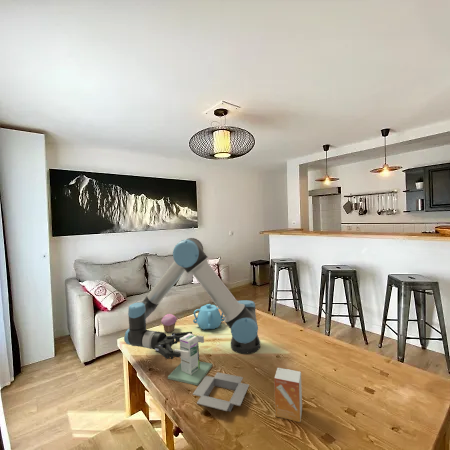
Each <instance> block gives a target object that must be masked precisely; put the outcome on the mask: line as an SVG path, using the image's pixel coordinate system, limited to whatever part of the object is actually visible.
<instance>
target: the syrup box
mask: <svg viewBox="0 0 450 450" xmlns="http://www.w3.org/2000/svg"><path fill="white" fill-rule="evenodd" d="M179 350H184V351H189V359H185V358H180V363H181V369H182V371H183V372H185V373H187V374H189V375H192V374H193V373H194V372H195V371H197V370H198V369H200V362H199V361H200V353H199V352H200V347H199V342H198V336H197V334H194V333H192V334H190V333H189V334H187V335H185V336H183V337H182V338H180V342H179Z"/></svg>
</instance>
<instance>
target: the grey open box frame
mask: <svg viewBox="0 0 450 450" xmlns="http://www.w3.org/2000/svg"><path fill="white" fill-rule="evenodd" d="M243 379H244V377H243V376H240V375H234V374H227V373H224V372H223V373H222V372H216V373H215V375H214V376H209V375H205V377H204V378H203V379H202V381H201V382H200V383H199V385H198V386H197V387H196V389H195V390H194V392H193V393H192V395H193V396H197V397H199V398H198V400H197V402H196V405H201V406H204V407H208V408H213V409H216V410H221V411H224V412H230V413H231V411H232V410H233V408H234V406H238V407H241V406H242V403H243V401H244V398H245V397H246V393H247V392H248V389H249V386H250V384H248V383H243V382H242V381H243ZM214 387H219V388H223V389H227V390H233V393H232V396H231V397H230V399H229V401H228V400H223V399H220V398H215V397H212V396H210V394H211V392H212V391H213V390H214Z"/></svg>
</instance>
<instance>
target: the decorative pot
mask: <svg viewBox="0 0 450 450" xmlns="http://www.w3.org/2000/svg"><path fill="white" fill-rule="evenodd" d="M197 312H198V313H197ZM220 312H221V311H220V309H219V308H218V306H217V305H216V304H211V303H207V304H205V305H202V306H200V308H197V309H195V310H194V311H193V316H194V319H193V323H194V324H197V326H198V327H199V328H200V329H201V330H202V329H203V331H206V330H216V329H215V328H217V329H218V328H219V327H220V325H221V324H222V322H225V321H224V318H225V316H224V314H223V313H222V312H221V313H220ZM196 313H197V316H196ZM205 329H206V330H205Z"/></svg>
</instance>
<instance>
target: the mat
mask: <svg viewBox="0 0 450 450" xmlns="http://www.w3.org/2000/svg"><path fill="white" fill-rule="evenodd" d="M199 362H200V369H198V370H197V371H195V372H194V373H193V374H192V375H189V374H187V373H185V372H183V371H182V369H181V362H180V363H179V364H178V365H177V366H176V368H175V369H173V370H172V371H171V372H170V373H169V374H168V375H167V380H170V381H176V382H179V383H184V384H188V385H194V386H197V387H198V386H199V384H200V383H201V382H202V380H203V379H204V378H205V376H207V374H208V372H209V371H210V370H211V368H212V367H213V363H212V362H205V361H200V360H199Z"/></svg>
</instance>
